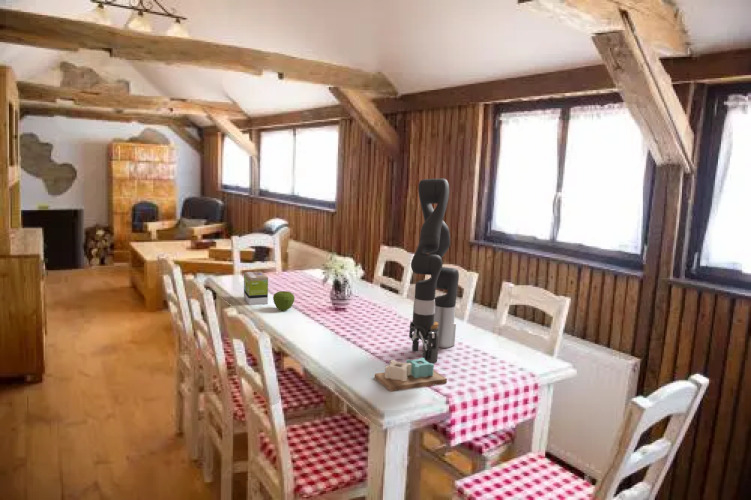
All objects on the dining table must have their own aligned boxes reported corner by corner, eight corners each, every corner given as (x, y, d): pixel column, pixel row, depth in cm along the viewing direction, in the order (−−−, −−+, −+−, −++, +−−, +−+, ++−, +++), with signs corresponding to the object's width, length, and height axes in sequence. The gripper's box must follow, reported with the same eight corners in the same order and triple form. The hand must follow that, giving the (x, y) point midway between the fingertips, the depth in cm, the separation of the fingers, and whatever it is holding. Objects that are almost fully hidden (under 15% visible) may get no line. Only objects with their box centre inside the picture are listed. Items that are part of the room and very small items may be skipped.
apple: (292, 313, 259) (292, 293, 258) (270, 312, 259) (271, 292, 258) (295, 307, 270) (296, 288, 268) (275, 306, 270) (275, 287, 269)
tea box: (243, 298, 283) (243, 271, 281) (261, 297, 288) (262, 271, 285) (248, 305, 270) (249, 277, 268) (268, 304, 274) (268, 276, 272)
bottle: (436, 358, 207) (438, 321, 205) (438, 363, 201) (441, 325, 199) (421, 357, 207) (423, 320, 204) (423, 362, 201) (425, 324, 199)
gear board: (428, 370, 193) (429, 356, 192) (446, 382, 182) (447, 367, 182) (374, 377, 184) (375, 362, 183) (390, 391, 173) (391, 375, 172)
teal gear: (423, 367, 191) (423, 357, 190) (434, 375, 184) (435, 364, 183) (404, 370, 187) (405, 359, 187) (415, 378, 180) (416, 367, 180)
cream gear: (390, 370, 187) (391, 359, 186) (411, 374, 184) (412, 363, 184) (383, 378, 179) (384, 366, 179) (405, 382, 177) (406, 370, 176)
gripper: (444, 315, 177) (441, 361, 180) (422, 304, 190) (420, 347, 193) (425, 317, 174) (422, 364, 177) (404, 306, 187) (402, 350, 189)
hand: (421, 355), depth 185 cm, fingers open, 8 cm apart
